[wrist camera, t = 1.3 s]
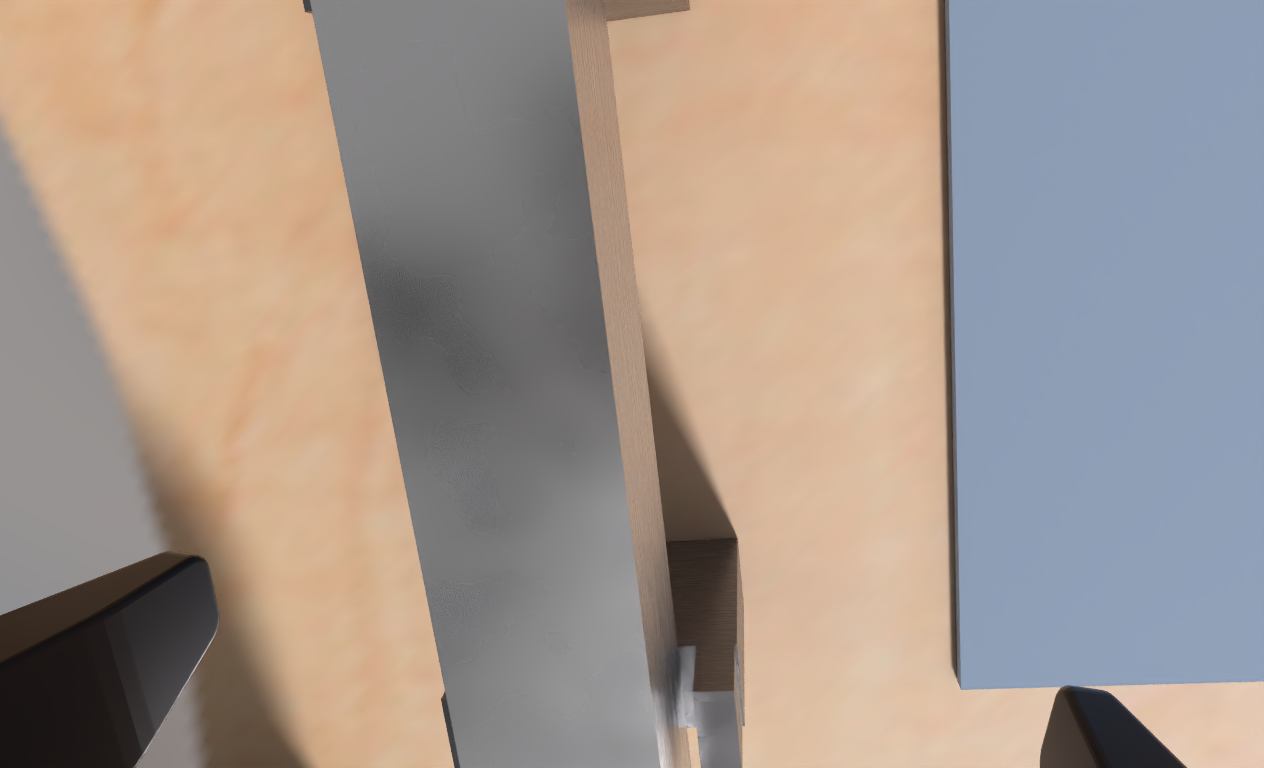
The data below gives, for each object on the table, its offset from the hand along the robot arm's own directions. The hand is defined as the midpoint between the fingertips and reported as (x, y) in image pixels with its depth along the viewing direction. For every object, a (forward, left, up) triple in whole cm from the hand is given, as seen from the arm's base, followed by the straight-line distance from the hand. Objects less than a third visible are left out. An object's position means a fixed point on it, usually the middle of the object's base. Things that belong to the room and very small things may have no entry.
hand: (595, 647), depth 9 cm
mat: (+11, +1, -14) cm, 17 cm away
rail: (-2, +1, -9) cm, 9 cm away
